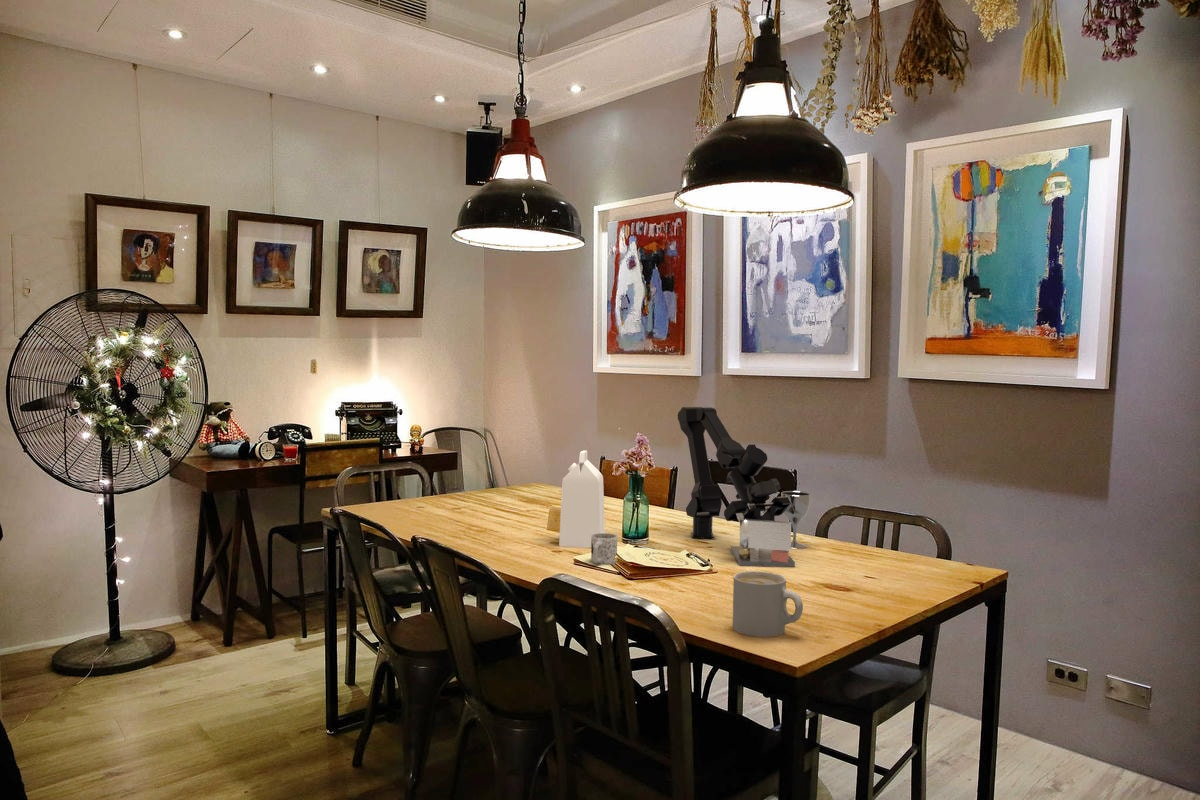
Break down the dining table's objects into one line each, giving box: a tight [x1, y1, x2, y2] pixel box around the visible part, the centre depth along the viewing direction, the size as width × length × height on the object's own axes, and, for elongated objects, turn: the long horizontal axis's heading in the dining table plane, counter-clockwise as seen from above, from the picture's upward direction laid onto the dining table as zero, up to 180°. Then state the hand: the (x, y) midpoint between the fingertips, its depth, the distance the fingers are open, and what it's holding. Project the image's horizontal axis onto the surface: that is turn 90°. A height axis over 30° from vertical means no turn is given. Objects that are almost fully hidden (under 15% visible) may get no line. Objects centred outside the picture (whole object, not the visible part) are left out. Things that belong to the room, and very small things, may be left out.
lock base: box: [730, 545, 796, 568], centre depth 216 cm, size 17×14×4 cm
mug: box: [590, 532, 618, 566], centre depth 209 cm, size 10×7×7 cm, turn 159°
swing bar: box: [739, 518, 792, 552], centre depth 210 cm, size 13×3×7 cm, turn 72°
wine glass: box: [780, 490, 811, 550], centre depth 232 cm, size 8×8×15 cm
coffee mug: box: [732, 570, 804, 638], centre depth 157 cm, size 13×10×10 cm
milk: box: [558, 450, 606, 549], centre depth 232 cm, size 12×12×26 cm
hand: (771, 535), depth 212 cm, fingers closed
